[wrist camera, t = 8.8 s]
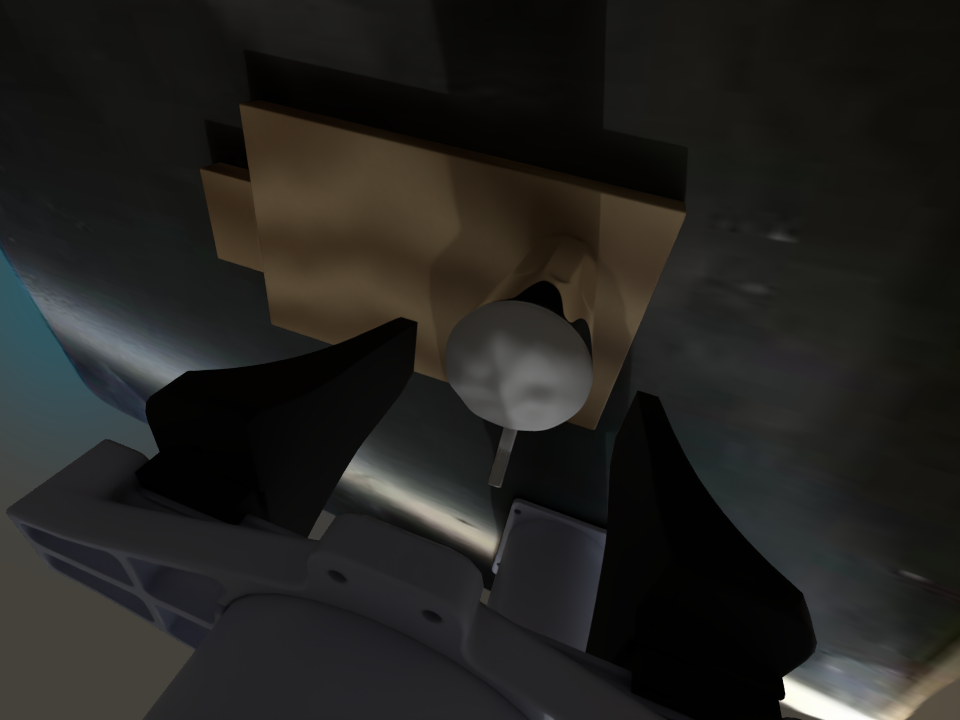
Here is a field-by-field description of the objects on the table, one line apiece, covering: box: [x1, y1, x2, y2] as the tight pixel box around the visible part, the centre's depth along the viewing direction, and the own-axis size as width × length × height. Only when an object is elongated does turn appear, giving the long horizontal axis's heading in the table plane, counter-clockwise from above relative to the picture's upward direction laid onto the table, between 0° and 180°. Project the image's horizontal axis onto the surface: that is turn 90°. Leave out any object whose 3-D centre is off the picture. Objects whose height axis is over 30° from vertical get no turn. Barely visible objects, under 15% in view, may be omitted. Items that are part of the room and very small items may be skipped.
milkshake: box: [446, 233, 598, 487], centre depth 17 cm, size 4×5×10 cm
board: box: [200, 100, 686, 430], centre depth 24 cm, size 12×23×2 cm, turn 81°
